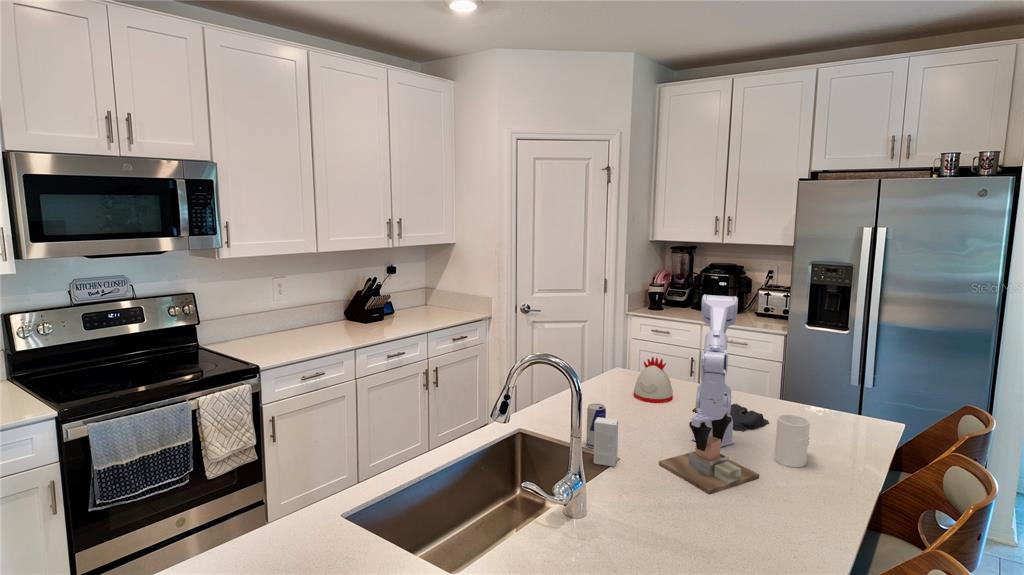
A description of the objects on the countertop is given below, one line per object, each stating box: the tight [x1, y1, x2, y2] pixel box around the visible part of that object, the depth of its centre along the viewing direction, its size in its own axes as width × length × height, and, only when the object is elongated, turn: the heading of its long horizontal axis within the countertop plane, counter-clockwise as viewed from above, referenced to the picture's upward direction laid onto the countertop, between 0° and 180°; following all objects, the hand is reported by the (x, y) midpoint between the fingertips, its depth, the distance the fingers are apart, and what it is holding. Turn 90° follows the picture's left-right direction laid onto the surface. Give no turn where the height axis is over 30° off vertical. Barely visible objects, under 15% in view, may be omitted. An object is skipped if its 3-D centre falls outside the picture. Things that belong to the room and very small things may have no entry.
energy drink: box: [586, 403, 607, 450], centre depth 170 cm, size 5×5×12 cm
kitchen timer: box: [633, 356, 674, 404], centre depth 212 cm, size 14×14×15 cm
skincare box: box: [593, 417, 619, 467], centre depth 160 cm, size 6×4×12 cm
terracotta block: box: [695, 435, 722, 462], centre depth 155 cm, size 4×4×5 cm
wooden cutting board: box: [658, 450, 760, 495], centre depth 155 cm, size 18×18×5 cm
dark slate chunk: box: [691, 403, 770, 433], centre depth 193 cm, size 15×22×5 cm
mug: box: [774, 414, 810, 468], centre depth 162 cm, size 8×12×12 cm
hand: (709, 445), depth 154 cm, fingers open, 7 cm apart
